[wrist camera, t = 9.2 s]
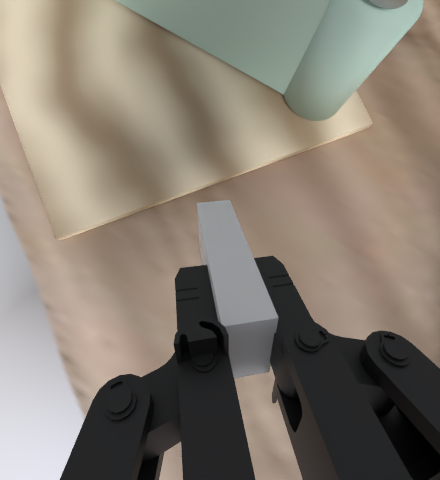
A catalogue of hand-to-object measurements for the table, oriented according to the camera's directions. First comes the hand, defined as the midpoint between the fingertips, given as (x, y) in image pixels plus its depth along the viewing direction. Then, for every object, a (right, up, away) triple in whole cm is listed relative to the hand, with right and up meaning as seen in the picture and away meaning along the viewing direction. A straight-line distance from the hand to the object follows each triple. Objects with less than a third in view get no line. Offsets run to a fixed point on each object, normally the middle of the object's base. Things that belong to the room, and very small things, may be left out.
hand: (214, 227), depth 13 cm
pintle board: (-4, +17, +10) cm, 20 cm away
